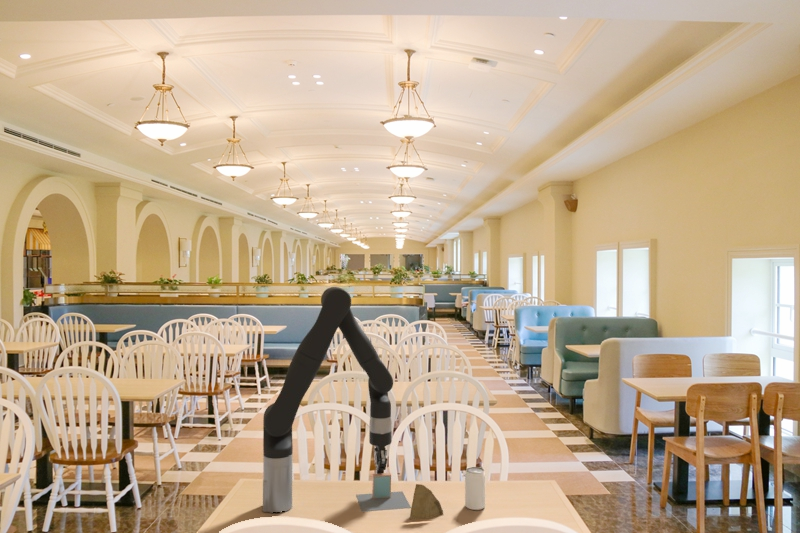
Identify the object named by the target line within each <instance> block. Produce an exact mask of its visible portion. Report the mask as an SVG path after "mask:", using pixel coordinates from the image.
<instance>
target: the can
mask: <svg viewBox="0 0 800 533" xmlns="http://www.w3.org/2000/svg"><path fill="white" fill-rule="evenodd" d="M464 474H465V476H464V477H465V478H464V479H465V480H464V483H465V484H464V506H465V507H466V508H467V509H468V510H472V511H481V510H483V509H485V507H486V474H485V470H484V468H483V467H479V466H470V467H469V466H468V467H466V472H465V473H464Z"/></svg>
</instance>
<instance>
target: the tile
mask: <svg viewBox="0 0 800 533" xmlns="http://www.w3.org/2000/svg"><path fill="white" fill-rule="evenodd" d="M371 483H372V486H371V487H372V489H371V490H372V491H371V494H372V498H373V499H380V498H391V492H392V491H391V490H392V473H391V472H384V473H380V474H377V473H372V482H371Z"/></svg>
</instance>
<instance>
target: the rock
mask: <svg viewBox="0 0 800 533" xmlns="http://www.w3.org/2000/svg"><path fill="white" fill-rule="evenodd" d="M410 507H411V508H410V514H409V518H410V520H424V519H429V518H432V517H437V516H444V511H443V508H442V505H441V502H440V501H439V500H438V499H437V498H436V496H435V494H434V493H433V492H432V490H431V489H430V488H428V487H426V485H423V484H417V483H416V484H415V488H414V492H413V497H412V503H411V506H410Z"/></svg>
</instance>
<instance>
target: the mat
mask: <svg viewBox="0 0 800 533" xmlns="http://www.w3.org/2000/svg"><path fill="white" fill-rule="evenodd" d="M355 496H356V498H357V501H358V506H359V508H360V511H361V512H363V513H365V512H376V511H387V510H388V511H389V510H398V509H399V510H400V509H401V510H402V509H411V507H412V506H411V505H410V503H409V501H408V499H407V497H406V495H405V494H404V492H403V491H391V498H380V499H373V498H372V493H362V494H361V493H360V494H356V495H355Z"/></svg>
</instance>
